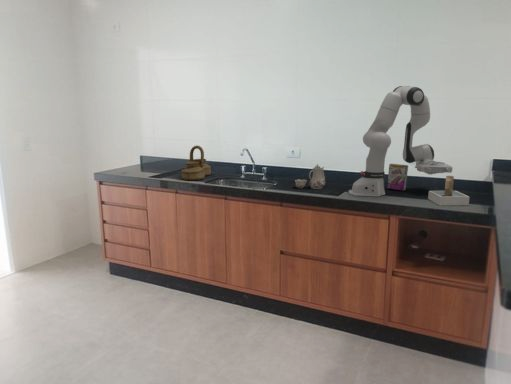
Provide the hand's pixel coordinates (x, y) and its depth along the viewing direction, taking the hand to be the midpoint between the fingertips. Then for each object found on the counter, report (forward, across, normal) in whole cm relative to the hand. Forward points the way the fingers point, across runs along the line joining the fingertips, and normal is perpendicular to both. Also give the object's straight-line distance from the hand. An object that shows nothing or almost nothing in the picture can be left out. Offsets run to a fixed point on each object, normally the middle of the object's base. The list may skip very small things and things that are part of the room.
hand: (439, 170), depth 247 cm
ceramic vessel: (-74, -156, +22) cm, 174 cm away
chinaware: (-33, -70, +19) cm, 80 cm away
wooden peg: (+13, +1, +15) cm, 20 cm away
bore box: (+13, +1, +16) cm, 21 cm away
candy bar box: (-23, -17, +17) cm, 33 cm away
